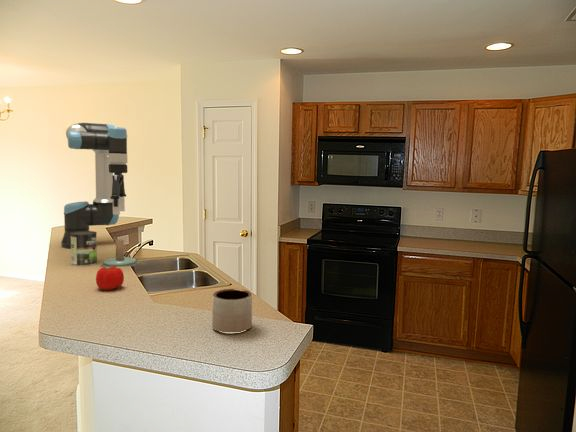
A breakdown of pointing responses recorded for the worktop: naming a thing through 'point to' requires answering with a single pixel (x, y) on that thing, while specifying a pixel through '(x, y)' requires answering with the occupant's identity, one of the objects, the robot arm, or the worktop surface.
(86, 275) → the worktop surface
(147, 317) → the worktop surface
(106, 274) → the tomato
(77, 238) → the coffee can
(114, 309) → the worktop surface
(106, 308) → the worktop surface
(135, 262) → the mat
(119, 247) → the cover
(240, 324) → the planter
